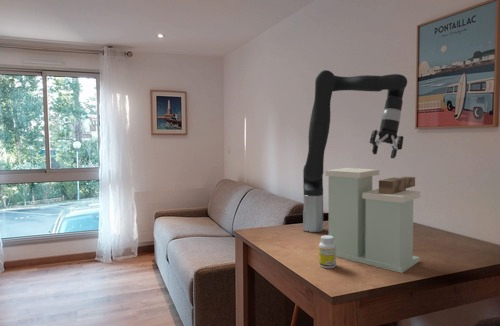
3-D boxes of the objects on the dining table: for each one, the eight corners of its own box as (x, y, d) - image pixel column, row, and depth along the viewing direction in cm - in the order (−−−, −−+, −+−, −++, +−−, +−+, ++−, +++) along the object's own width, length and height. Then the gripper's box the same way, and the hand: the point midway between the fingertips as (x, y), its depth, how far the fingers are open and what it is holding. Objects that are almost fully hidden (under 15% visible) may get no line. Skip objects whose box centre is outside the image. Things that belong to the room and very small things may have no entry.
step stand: (401, 273, 117) (403, 175, 115) (325, 253, 137) (325, 170, 135) (419, 261, 127) (420, 171, 125) (346, 245, 148) (346, 167, 146)
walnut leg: (391, 194, 120) (391, 181, 120) (378, 193, 123) (378, 180, 123) (416, 187, 136) (416, 175, 135) (404, 186, 139) (404, 175, 139)
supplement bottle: (323, 261, 129) (323, 233, 128) (338, 265, 125) (338, 236, 124) (316, 266, 124) (316, 237, 124) (331, 269, 121) (331, 239, 120)
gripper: (379, 115, 154) (372, 152, 154) (410, 123, 156) (403, 159, 156) (371, 117, 162) (364, 153, 162) (400, 124, 164) (393, 159, 163)
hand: (383, 156), depth 159 cm, fingers open, 8 cm apart
